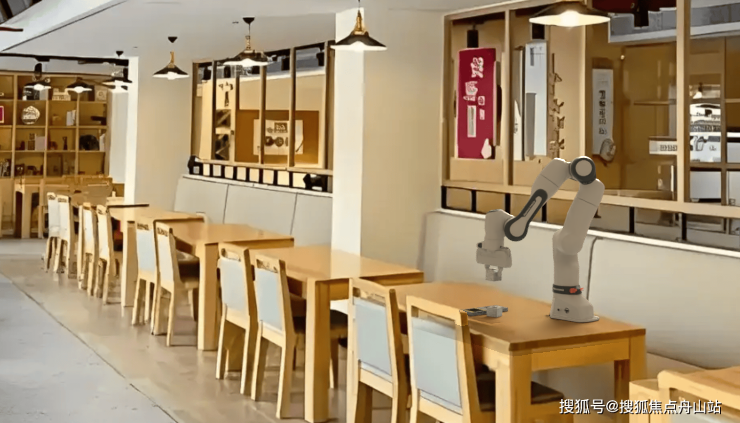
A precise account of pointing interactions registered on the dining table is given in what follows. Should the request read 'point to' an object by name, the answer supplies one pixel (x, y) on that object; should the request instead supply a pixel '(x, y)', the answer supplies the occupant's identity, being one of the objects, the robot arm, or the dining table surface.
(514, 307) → the dining table surface
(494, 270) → the grey cube
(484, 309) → the rail
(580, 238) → the robot arm
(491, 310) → the nut
